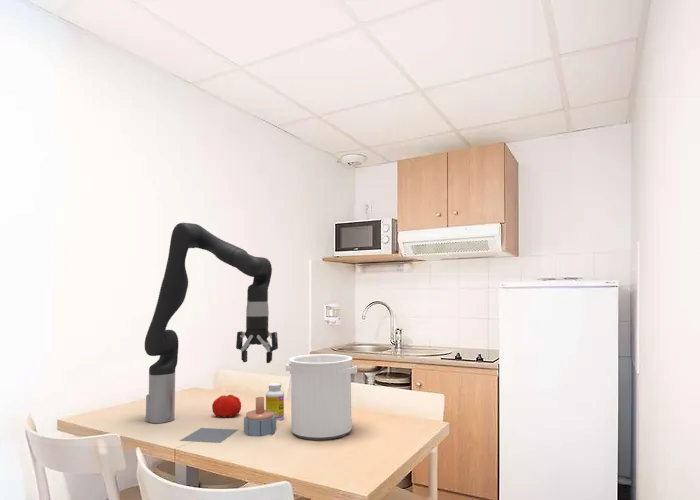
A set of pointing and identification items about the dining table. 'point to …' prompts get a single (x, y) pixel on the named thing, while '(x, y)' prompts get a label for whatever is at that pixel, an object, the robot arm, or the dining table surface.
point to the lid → (259, 411)
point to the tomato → (226, 406)
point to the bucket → (321, 395)
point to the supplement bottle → (275, 400)
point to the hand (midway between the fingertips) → (256, 362)
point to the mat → (210, 435)
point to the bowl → (260, 426)
